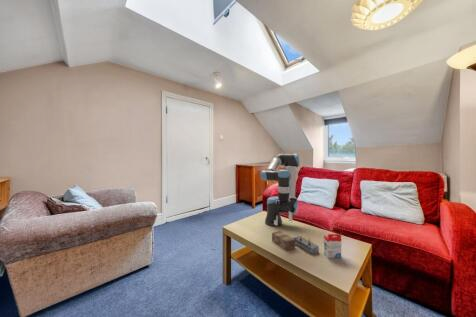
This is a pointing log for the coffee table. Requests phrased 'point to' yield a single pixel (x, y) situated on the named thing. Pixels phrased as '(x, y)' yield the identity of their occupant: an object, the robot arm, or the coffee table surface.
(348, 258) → the coffee table surface
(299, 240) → the rail
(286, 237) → the wooden block
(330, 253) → the ink box
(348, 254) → the coffee table surface
